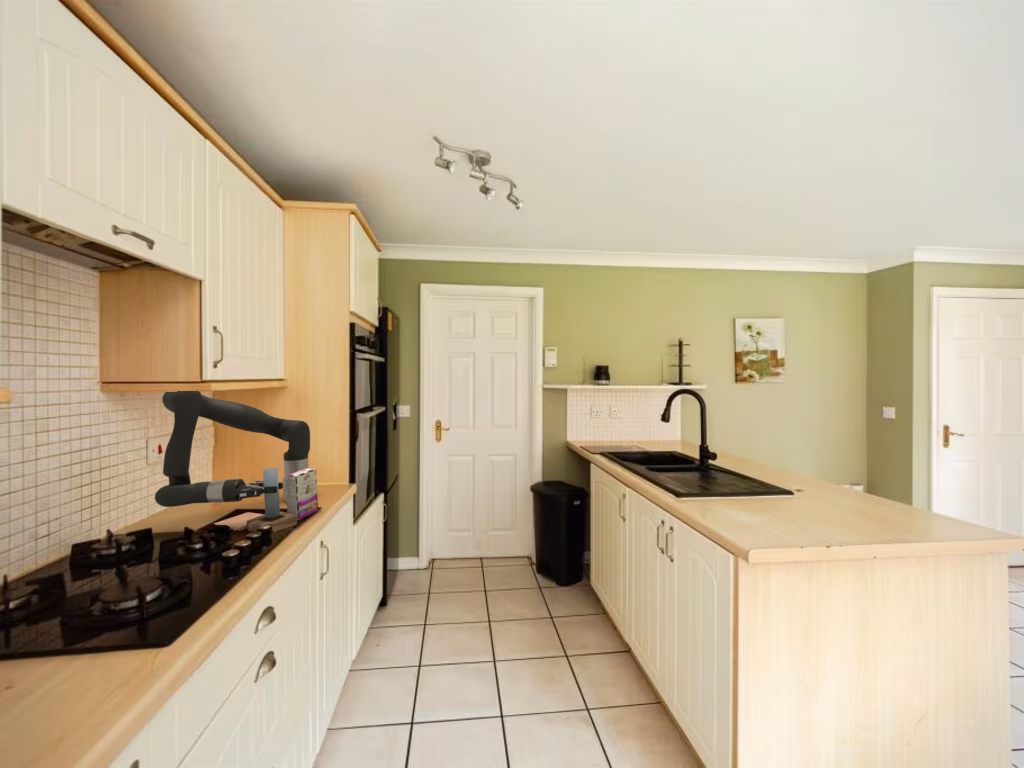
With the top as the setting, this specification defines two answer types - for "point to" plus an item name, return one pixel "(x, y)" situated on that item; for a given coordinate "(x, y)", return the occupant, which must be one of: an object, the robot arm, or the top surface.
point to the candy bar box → (302, 493)
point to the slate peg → (273, 498)
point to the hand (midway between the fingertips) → (279, 487)
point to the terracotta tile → (238, 521)
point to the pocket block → (273, 521)
